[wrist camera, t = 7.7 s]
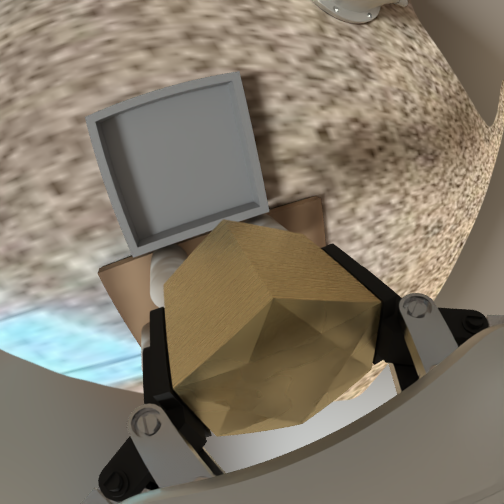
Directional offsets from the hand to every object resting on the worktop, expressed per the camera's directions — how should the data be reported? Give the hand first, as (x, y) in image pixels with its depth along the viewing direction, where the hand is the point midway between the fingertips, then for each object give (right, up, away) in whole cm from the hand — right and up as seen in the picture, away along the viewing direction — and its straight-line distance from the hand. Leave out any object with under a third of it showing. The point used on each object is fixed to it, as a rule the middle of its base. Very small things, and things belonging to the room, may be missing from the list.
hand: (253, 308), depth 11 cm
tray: (-7, +11, +14) cm, 19 cm away
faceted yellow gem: (0, 0, +1) cm, 1 cm away
